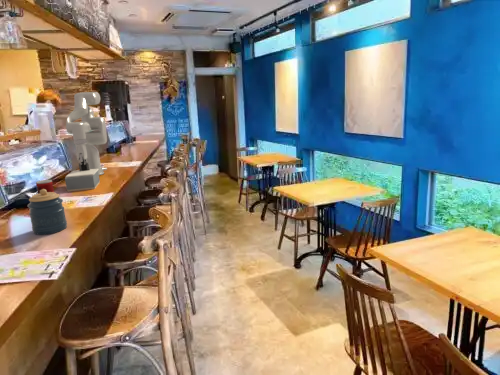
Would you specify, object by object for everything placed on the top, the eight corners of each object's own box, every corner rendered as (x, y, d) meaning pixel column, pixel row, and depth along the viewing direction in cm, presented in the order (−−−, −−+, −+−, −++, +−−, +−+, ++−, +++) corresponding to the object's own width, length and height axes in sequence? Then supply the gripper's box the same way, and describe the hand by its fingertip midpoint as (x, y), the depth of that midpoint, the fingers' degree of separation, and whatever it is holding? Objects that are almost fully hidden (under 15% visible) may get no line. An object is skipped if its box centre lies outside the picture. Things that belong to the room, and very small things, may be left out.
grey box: (74, 184, 244) (72, 172, 242) (99, 182, 247) (98, 170, 245) (67, 191, 225) (64, 178, 223) (95, 188, 228) (93, 176, 226)
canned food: (58, 198, 210) (54, 179, 207) (49, 202, 202) (45, 182, 199) (45, 198, 210) (42, 179, 208) (36, 202, 203) (32, 182, 200)
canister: (59, 222, 164) (52, 184, 160) (73, 227, 156) (66, 187, 152) (27, 231, 155) (19, 190, 150) (40, 237, 147) (32, 194, 142)
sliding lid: (72, 172, 244) (71, 163, 243) (98, 169, 247) (97, 161, 246) (65, 177, 225) (64, 168, 224) (93, 175, 228) (92, 166, 227)
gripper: (76, 141, 246) (81, 168, 250) (71, 143, 230) (76, 172, 235) (88, 140, 247) (93, 167, 252) (84, 142, 232) (88, 171, 236)
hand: (84, 169), depth 243 cm, fingers closed on sliding lid, 2 cm apart
